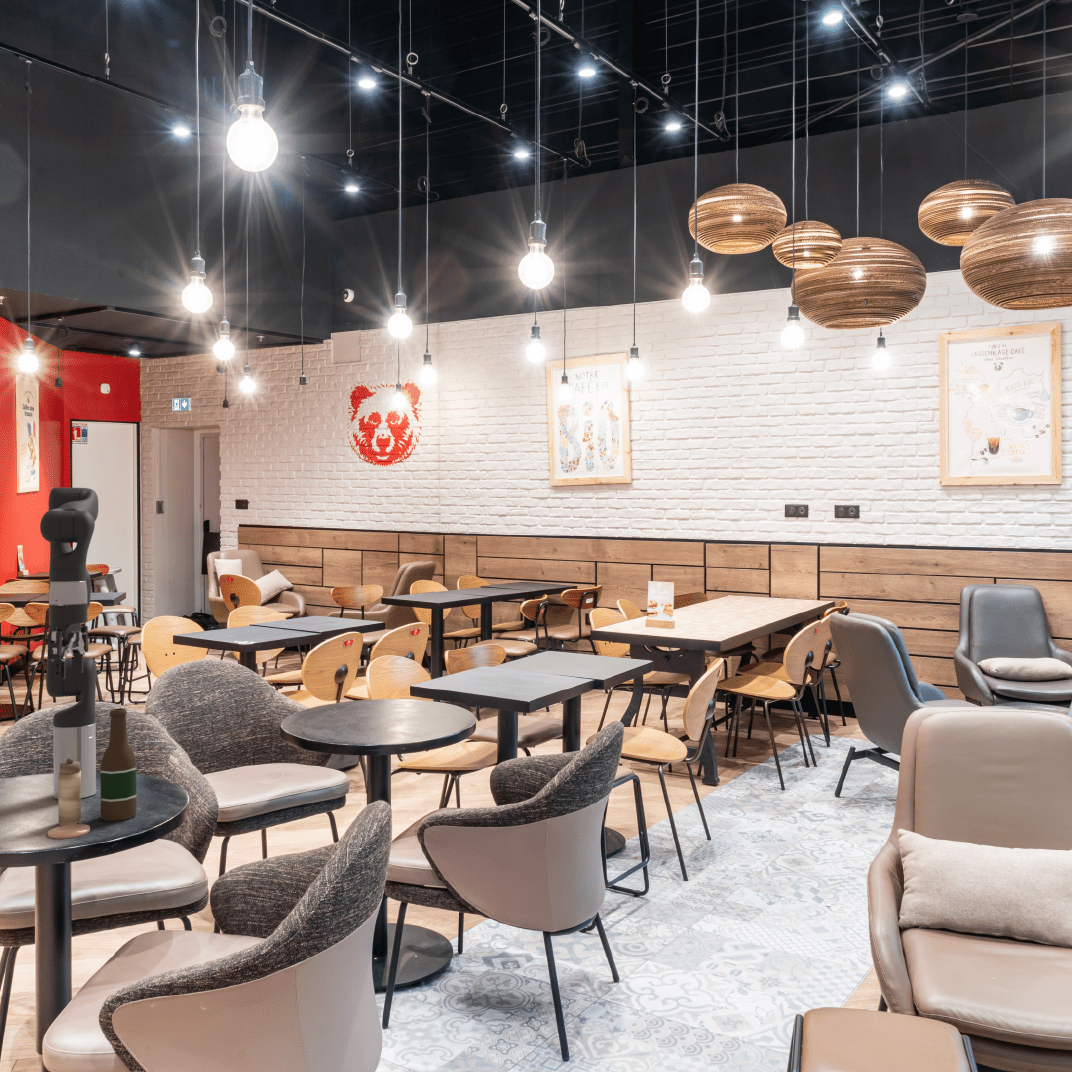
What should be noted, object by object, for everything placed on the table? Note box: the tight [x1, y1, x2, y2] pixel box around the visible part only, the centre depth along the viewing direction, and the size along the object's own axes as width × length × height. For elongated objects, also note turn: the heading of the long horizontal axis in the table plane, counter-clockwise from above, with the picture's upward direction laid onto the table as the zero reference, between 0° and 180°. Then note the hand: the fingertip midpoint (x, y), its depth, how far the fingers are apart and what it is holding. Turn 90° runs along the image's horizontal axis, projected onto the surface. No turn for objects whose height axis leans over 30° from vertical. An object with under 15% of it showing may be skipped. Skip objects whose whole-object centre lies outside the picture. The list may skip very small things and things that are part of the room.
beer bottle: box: [100, 707, 138, 822], centre depth 211 cm, size 8×8×24 cm
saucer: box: [47, 823, 91, 840], centre depth 200 cm, size 8×8×1 cm
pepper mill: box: [57, 758, 82, 827], centre depth 207 cm, size 4×4×14 cm
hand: (68, 676), depth 207 cm, fingers open, 8 cm apart
